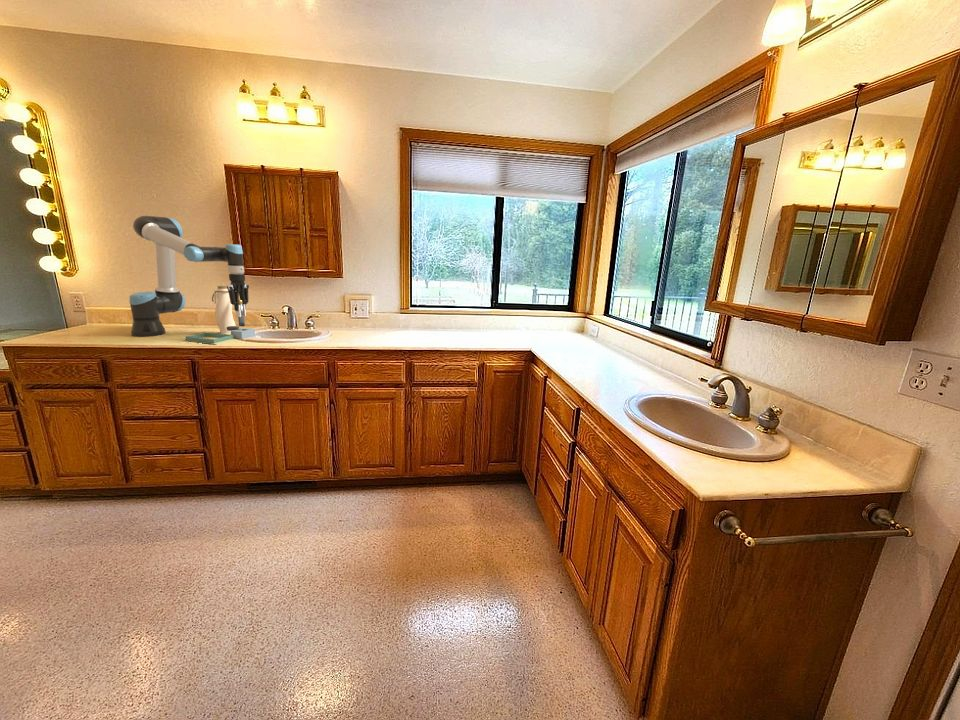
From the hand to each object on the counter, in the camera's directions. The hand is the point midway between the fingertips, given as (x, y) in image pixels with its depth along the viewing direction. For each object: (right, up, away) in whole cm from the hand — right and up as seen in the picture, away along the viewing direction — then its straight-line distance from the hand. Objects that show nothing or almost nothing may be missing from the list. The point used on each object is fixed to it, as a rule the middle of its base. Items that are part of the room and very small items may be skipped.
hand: (241, 316), depth 228 cm
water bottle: (-16, -9, +12) cm, 22 cm away
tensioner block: (-3, -12, +4) cm, 13 cm away
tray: (-13, -14, -7) cm, 20 cm away
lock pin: (0, -5, +1) cm, 6 cm away
